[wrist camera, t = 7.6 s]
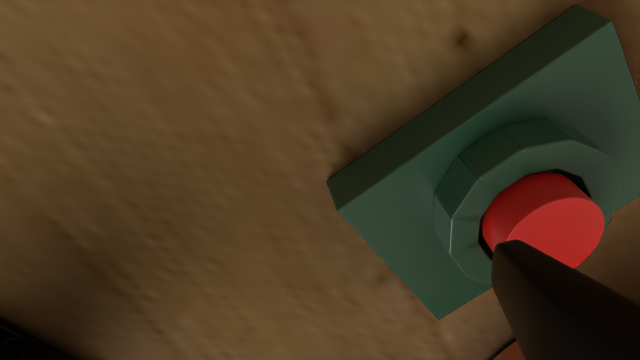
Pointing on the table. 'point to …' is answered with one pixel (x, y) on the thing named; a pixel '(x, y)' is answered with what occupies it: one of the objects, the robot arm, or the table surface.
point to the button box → (496, 156)
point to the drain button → (546, 217)
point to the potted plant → (512, 353)
